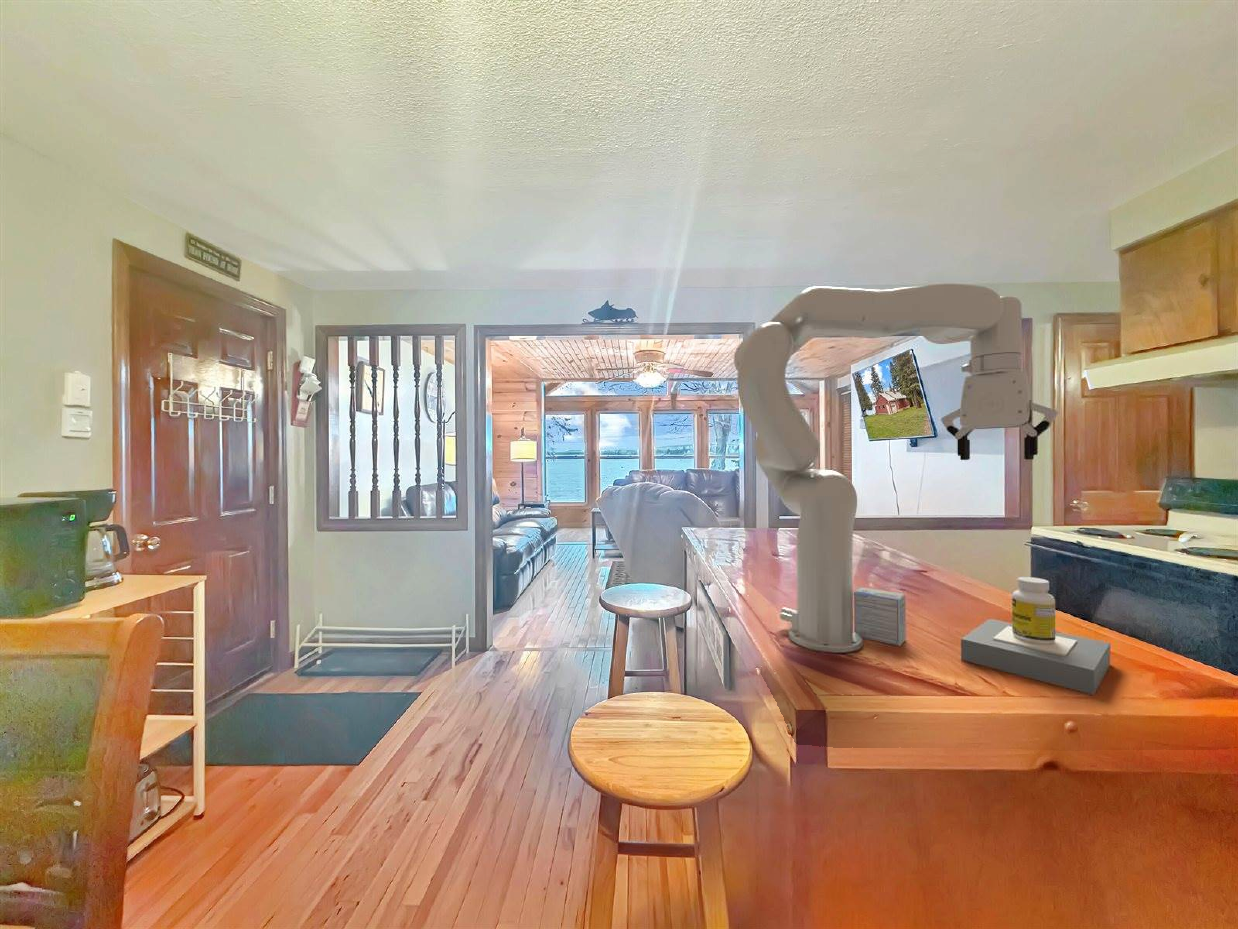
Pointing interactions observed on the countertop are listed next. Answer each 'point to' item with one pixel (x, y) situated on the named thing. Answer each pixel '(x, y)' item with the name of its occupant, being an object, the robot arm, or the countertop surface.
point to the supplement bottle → (1033, 611)
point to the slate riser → (1039, 656)
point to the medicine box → (880, 615)
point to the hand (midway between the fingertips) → (995, 459)
